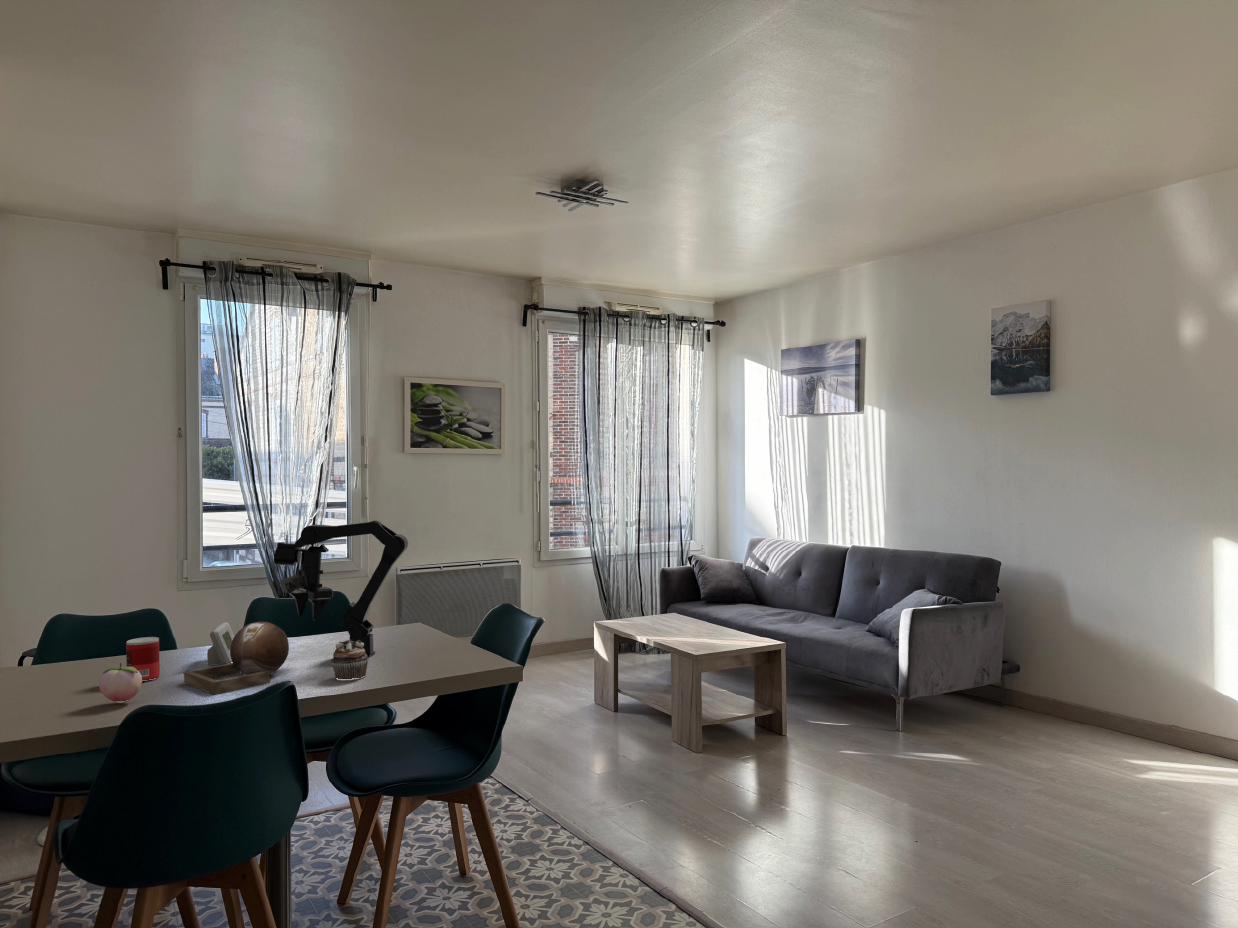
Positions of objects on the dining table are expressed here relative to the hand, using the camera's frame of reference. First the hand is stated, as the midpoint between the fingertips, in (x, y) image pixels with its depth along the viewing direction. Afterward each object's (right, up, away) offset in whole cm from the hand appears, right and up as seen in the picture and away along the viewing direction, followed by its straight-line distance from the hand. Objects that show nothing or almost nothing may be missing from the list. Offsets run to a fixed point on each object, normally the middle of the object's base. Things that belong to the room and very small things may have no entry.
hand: (307, 618), depth 259 cm
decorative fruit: (-29, -13, -47) cm, 57 cm away
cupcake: (+21, -12, -26) cm, 35 cm away
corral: (-11, -12, -29) cm, 33 cm away
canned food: (-37, -13, -23) cm, 45 cm away
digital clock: (-24, -13, -1) cm, 27 cm away
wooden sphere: (-5, -12, -22) cm, 26 cm away
